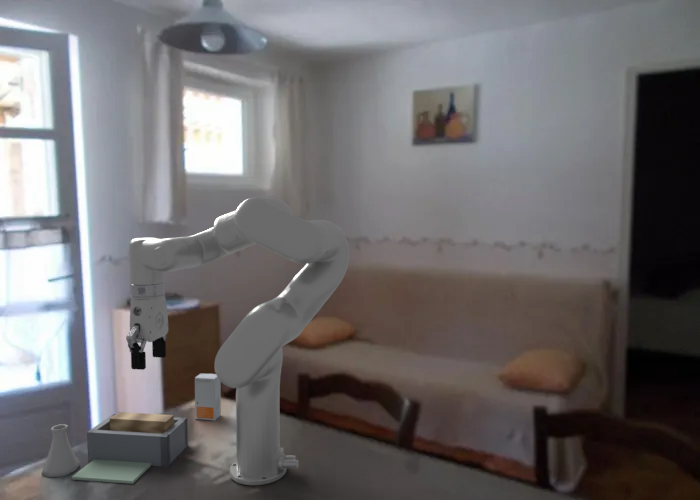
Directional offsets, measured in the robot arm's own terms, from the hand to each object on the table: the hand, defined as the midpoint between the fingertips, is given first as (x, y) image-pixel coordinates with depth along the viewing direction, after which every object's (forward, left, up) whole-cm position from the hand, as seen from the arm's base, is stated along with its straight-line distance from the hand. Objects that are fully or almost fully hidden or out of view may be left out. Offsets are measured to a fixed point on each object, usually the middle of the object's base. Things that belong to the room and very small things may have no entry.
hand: (149, 362), depth 125 cm
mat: (+4, +10, -22) cm, 25 cm away
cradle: (+2, 0, -22) cm, 22 cm away
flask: (+16, +10, -22) cm, 29 cm away
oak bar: (+2, 0, -18) cm, 18 cm away
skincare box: (-5, -23, -22) cm, 32 cm away
